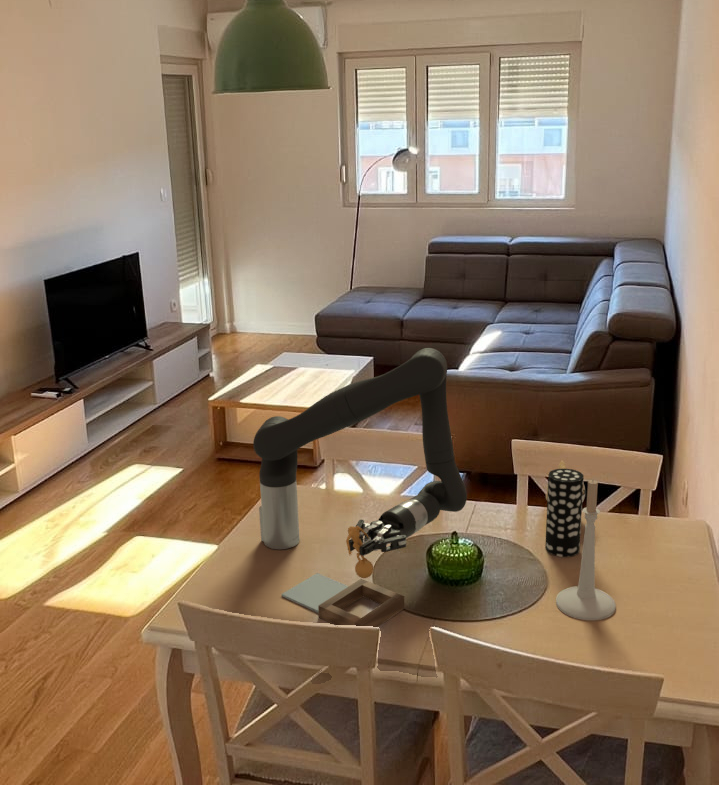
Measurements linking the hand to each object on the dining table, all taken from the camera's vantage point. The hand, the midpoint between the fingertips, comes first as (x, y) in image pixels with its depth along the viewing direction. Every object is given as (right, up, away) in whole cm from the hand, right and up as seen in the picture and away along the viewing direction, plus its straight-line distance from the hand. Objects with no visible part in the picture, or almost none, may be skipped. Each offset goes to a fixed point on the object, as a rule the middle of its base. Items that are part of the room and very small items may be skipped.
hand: (355, 549), depth 183 cm
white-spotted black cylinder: (+52, -6, +31) cm, 61 cm away
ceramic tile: (-8, -13, +14) cm, 21 cm away
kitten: (+56, -1, +46) cm, 73 cm away
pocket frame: (+1, -15, +6) cm, 16 cm away
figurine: (+1, -6, +3) cm, 7 cm away
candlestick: (+51, -14, +7) cm, 53 cm away
